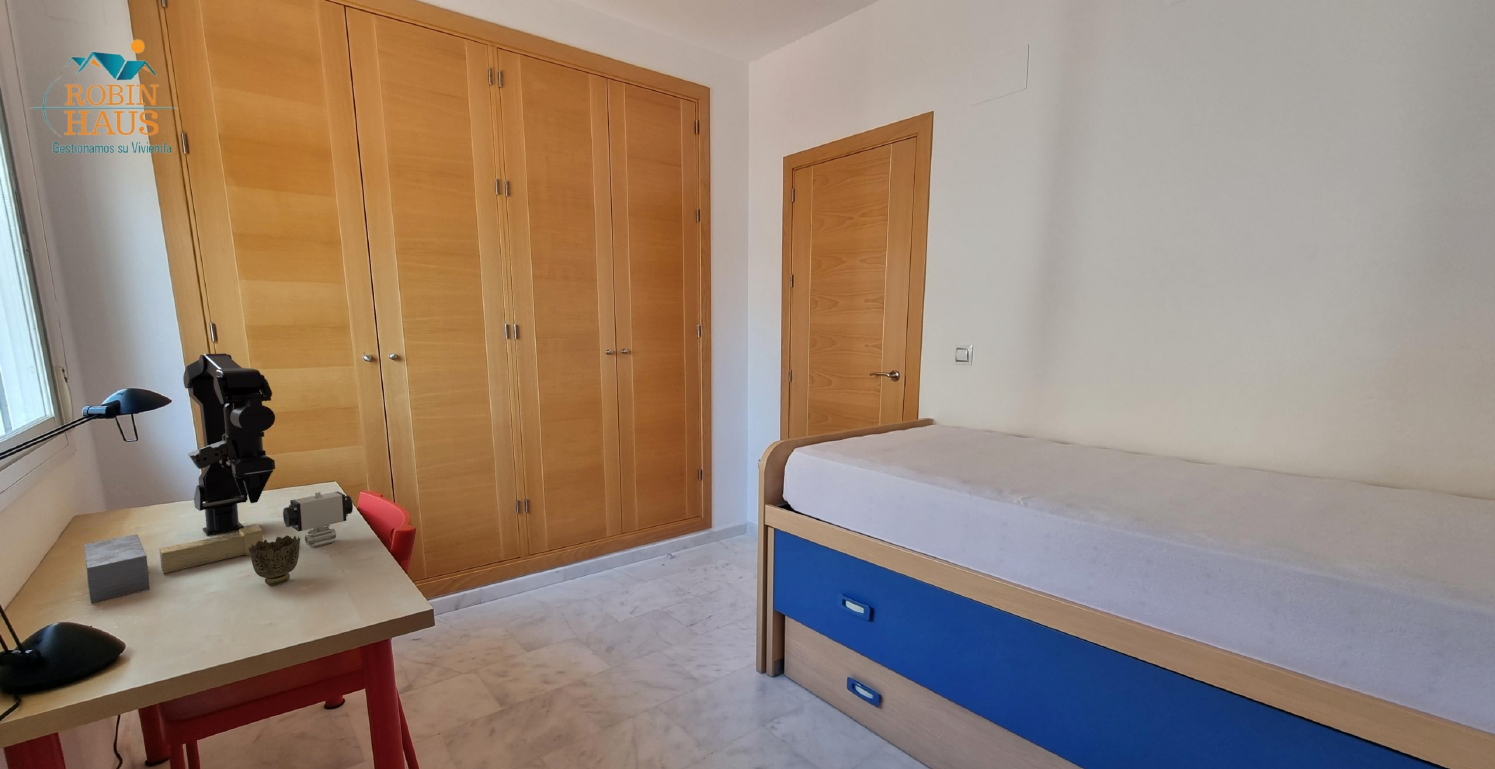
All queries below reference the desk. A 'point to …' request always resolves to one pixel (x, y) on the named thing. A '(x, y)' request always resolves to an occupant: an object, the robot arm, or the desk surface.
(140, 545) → the gray rectangular block
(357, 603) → the desk surface
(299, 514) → the pneumatic valve
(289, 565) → the cup
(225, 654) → the desk surface
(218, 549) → the wooden bar
